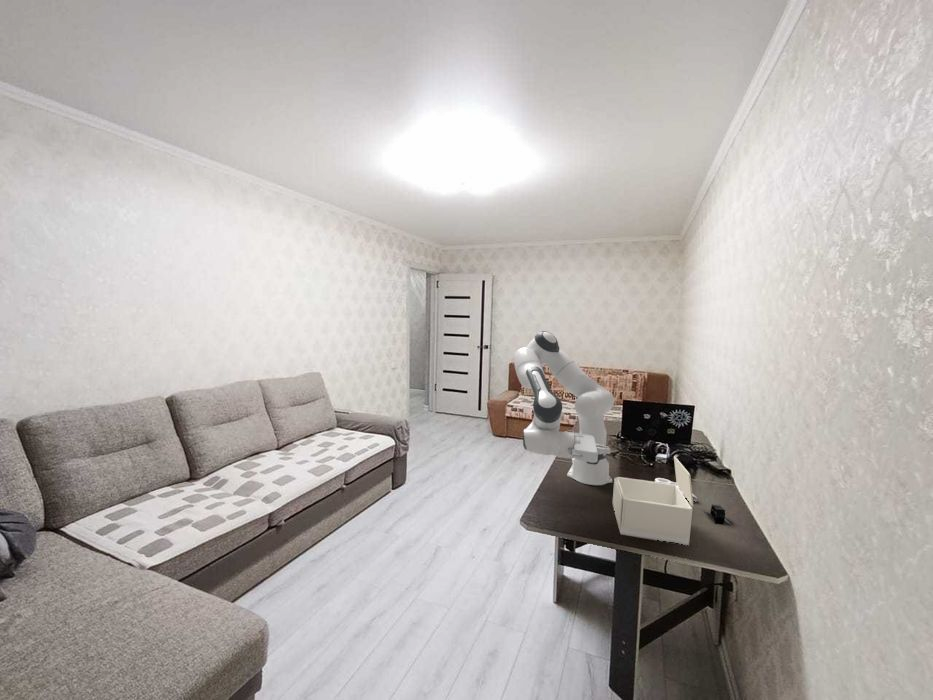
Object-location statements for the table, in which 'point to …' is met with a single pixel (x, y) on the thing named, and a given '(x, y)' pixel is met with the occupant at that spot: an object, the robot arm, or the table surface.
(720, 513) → the black angular piece
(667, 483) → the spiked knuckle duster
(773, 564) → the table surface
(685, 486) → the carton flap
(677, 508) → the carton
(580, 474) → the robot arm
